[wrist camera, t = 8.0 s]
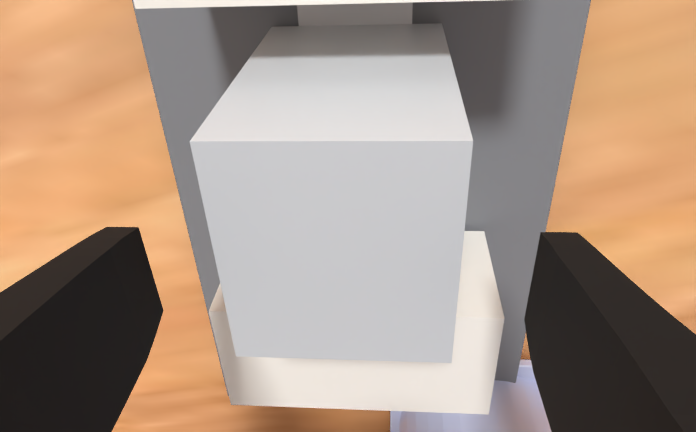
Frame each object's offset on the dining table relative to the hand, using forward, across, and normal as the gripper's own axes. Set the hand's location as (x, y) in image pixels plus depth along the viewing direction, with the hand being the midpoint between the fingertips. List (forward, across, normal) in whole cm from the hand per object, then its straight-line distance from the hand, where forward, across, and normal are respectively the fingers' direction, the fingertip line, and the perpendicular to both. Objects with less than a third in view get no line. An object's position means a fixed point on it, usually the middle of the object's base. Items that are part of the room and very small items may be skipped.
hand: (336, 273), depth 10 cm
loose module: (+7, 0, 0) cm, 7 cm away
